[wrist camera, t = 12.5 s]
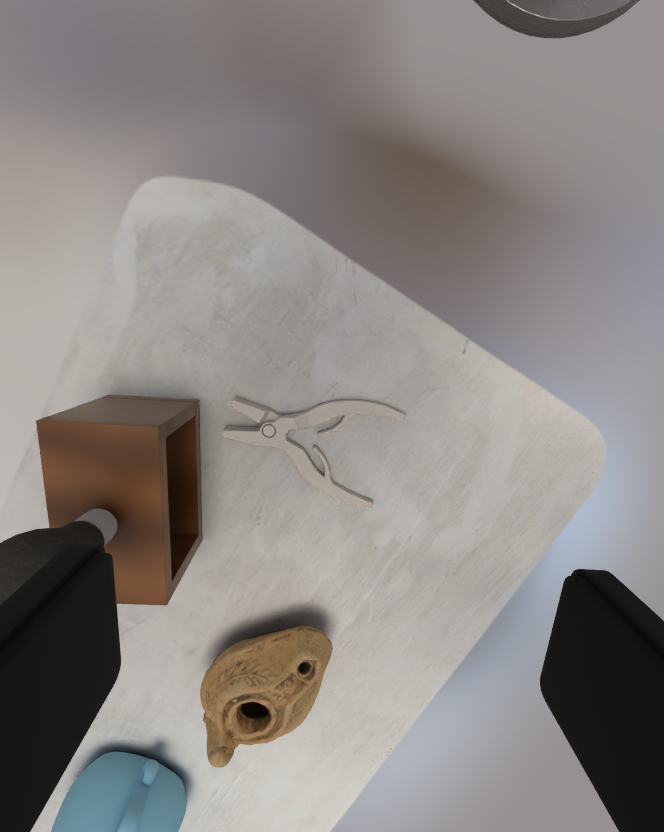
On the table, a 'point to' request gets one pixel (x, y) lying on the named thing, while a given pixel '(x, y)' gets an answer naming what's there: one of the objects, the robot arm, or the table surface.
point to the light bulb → (49, 547)
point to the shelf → (175, 463)
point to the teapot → (123, 797)
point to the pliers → (279, 425)
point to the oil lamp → (262, 689)
